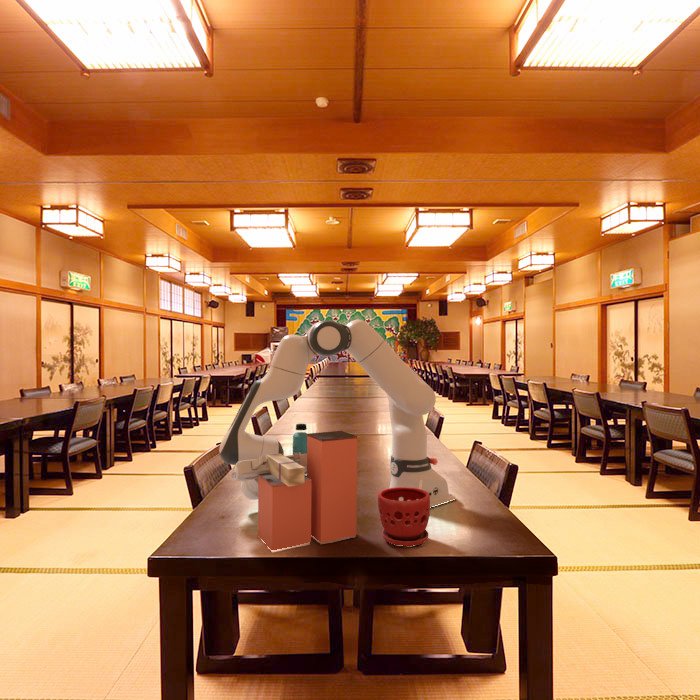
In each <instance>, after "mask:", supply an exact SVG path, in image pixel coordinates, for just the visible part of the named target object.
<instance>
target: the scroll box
mask: <svg viewBox="0 0 700 700" xmlns="http://www.w3.org/2000/svg"><path fill="white" fill-rule="evenodd" d="M286 456H287V455H285V454H284V455H282V454H270V455H266V458H268V460H267V462H268V468H269V469H270V471H269V473H271V474H272V475H273V476H275V477H276V478H277V479H279V480H280V481H282V482H283V483H284V484H286V485H287V486H288V487H289V486H296V485H303V484H304V476H305V474H304V472H305V467H303V466H301V465H299V464H298V463H296V462H295V461H293V460H291V459H289V458H287V457H286Z"/></svg>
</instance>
